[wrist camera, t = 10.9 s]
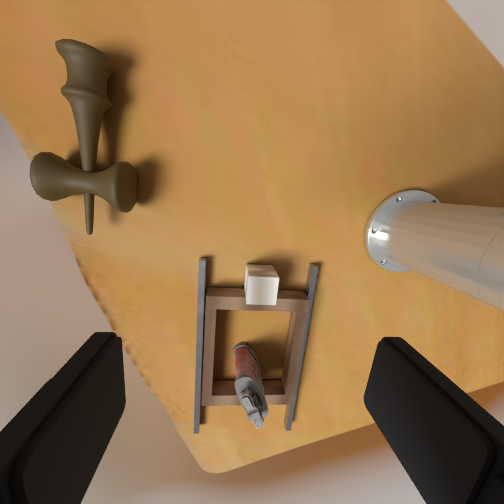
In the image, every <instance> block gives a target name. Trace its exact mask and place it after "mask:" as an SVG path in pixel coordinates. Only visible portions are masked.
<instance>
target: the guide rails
mask: <svg viewBox="0 0 504 504" xmlns="http://www.w3.org/2000/svg"><path fill="white" fill-rule="evenodd" d="M318 268H319V267H318V266H317V265H316V264H309V270H308V276H307V283H306V289H305V294H306V295H307V297H308V298H309V299H310V302H309V308H308V314H307V320H306V326H305V332H304V338H303V344H302V349H301V355H300V361H299V367H298V373H297V379H296V385H295V391H294V397H293V403H292V404H287V408H286V414H285V420H284V424H285V428H286V430H291V426H292V420H293V414H294V408H295V402H296V397H297V391H298V385H299V379H300V373H301V367H302V362H303V356H304V350H305V344H306V338H307V332H308V327H309V321H310V315H311V309H312V303H313V297H314V292H315V286H316V280H317V274H318ZM205 284H206V258H200V260H199V279H198V312H197V344H196V377H195V409H194V433H199V429H200V411H201V385H202V360H203V335H204V309H205Z"/></svg>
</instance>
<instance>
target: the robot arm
mask: <svg viewBox="0 0 504 504" xmlns="http://www.w3.org/2000/svg"><path fill="white" fill-rule="evenodd" d="M371 230H372V231H371ZM365 246H366V249H367V252H368V254H369V256H370V258H371V259H372V260H373V261H374V262H375V263H376V264H377V265H378V266H380V267H382V268H384V269H386V270H388V271H392V272H407V271H410V270H413V271H415V272H417V273H419V274H422V275H424V276H426V277H428V278H431V279H433V280H435V281H437V282H439V283H442V284H444V285H446V286H448V287H451V288H453V289H455V290H457V291H459V292H462V293H464V294H466V295H468V296H471V297H473V298H475V299H477V300H479V301H482V302H484V303H486V304H489V305H491V306H493V307H495V308H497V309H500V310H502V311H504V208H503V207H489V206H475V205H461V204H447V203H440V201H439V200H438V199H437V198H436V197H434V196H433V195H432V194H430V193H427V192H424V191H420V190H408V191H402V192H398V193H395V194H394V195H392V196H390V197H388V198H387V199H385V200H384V201H383V202H381V204H380V205H379V206H378V207H377V208H376V209H375V210H374V212H373V213H372V215H371V217H370V219H369V221H368V223H367V227H366V231H365ZM125 403H126V398H125V382H124V367H123V352H122V339H121V337H117V335H116V333H114V332H95V333H94V334H93V335H92V336H91V337H90V338H89V339H88V340H87V341H86V342H85V343H84V344H83V345H82V346H81V347H80V349H79V350H78V351H77V352H76V353H75V354H74V355H73V356H72V357H71V358H70V359H69V360H68V362H67V363H66V364H65V365H64V366H63V367H62V368H61V369H60V370H59V371H58V372H57V374H56V375H55V376H54V377H53V378H51V379H50V380H49V381H48V382H46V383H45V385H44V386H43V387H42V388H41V389H40V390H39V391H38V392H37V393H36V394H35V395H34V396H33V398H31V399H30V401H29V402H28V403H27V404H26V405H25V406H24V407H23V408H22V409H21V410H20V411H19V412H18V413H17V414H16V416H15V417H14V418H13V419H12V420H11V421H10V422H9V423H8V424H7V425H6V426H5V427H4V428H3V430H2V431H1V432H0V504H81V502H82V499H83V497H84V495H85V493H86V491H87V489H88V486H89V484H90V482H91V480H92V478H93V476H94V474H95V472H96V469H97V467H98V465H99V463H100V461H101V459H102V457H103V454H104V452H105V450H106V448H107V446H108V444H109V442H110V439H111V437H112V435H113V433H114V431H115V429H116V427H117V424H118V422H119V420H120V418H121V416H122V414H123V411H124V408H125ZM364 403H365V406H366V408H367V410H368V411H369V413H370V415H371V416H372V418H373V419H374V421H375V422H376V424H377V426H378V427H379V429H380V430H381V432H382V434H383V435H384V437H385V438H386V440H387V441H388V443H389V445H390V446H391V448H392V449H393V451H394V453H395V454H396V456H397V458H398V459H399V461H400V462H401V464H402V466H403V467H404V469H405V470H406V472H407V473H408V475H409V477H410V478H411V480H412V481H413V483H414V485H415V486H416V488H417V489H418V491H419V493H420V494H421V496H422V497H423V499H424V501H425V502H426V504H504V426H503V425H502V424H501V423H500V422H499V421H497V420H496V419H495V418H494V417H493V416H491V415H490V414H489V413H488V412H487V411H486V410H485V409H483V408H482V407H481V406H480V405H479V404H478V403H477V402H475V401H474V400H473V399H472V398H471V397H470V396H468V395H467V394H466V393H465V392H464V391H463V390H461V389H460V388H459V387H458V386H457V385H456V384H455V383H453V382H452V381H451V380H450V379H449V378H448V377H446V376H445V375H444V374H443V373H442V372H441V371H440V370H438V369H437V368H436V367H435V366H434V365H433V364H431V363H430V362H429V361H428V360H427V359H426V358H424V357H423V356H422V355H421V354H420V353H419V352H418V351H416V350H415V349H414V348H413V347H412V346H411V345H409V344H408V343H407V342H406V341H405V340H404V339H402V338H400V337H383V338H382V340H381V341H379V342H378V345H377V349H376V353H375V356H374V360H373V364H372V368H371V371H370V375H369V379H368V383H367V387H366V390H365V394H364Z"/></svg>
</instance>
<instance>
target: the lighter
mask: <svg viewBox="0 0 504 504" xmlns="http://www.w3.org/2000/svg"><path fill="white" fill-rule="evenodd" d="M234 356H235V366H236V379H235V389H236V393H237V396H238V398H239V400H240V403H241V404H242V406H243V407H244V409H245V410H246V412H247V415H248V419H249V421H250V422H252V421H253V423H254V425H255V426H256V428H261V427H263V426H264V420H263V418H264V417H266V416H267V414H268V407H267V402H266V398H265V395H264V387H263V383H262V380H261V378H262V373H261V368H260V364H259V362H258V359H257V357H256V355H255V353H254V352H253V350H252V349H251V348H250V346H249V345H248V344H247V343H245V342H240V343H238V344H236V345H235V346H234Z"/></svg>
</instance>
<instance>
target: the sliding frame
mask: <svg viewBox="0 0 504 504" xmlns="http://www.w3.org/2000/svg"><path fill="white" fill-rule="evenodd" d="M278 284H279V276H278V275H277V273H276V271H275V269H274V268H273V266H272V265H254V264H246V272H245V283H244V289H240V288H215V287H208V289H207V294H206V310H205V335H204V360H203V384H202V406H223V405H242V404H241V403H240V400H239V398H238V396H237V393H236V389H235V381H213V368H214V350H215V331H216V313H217V309H223V310H256V311H290V312H291V317H290V323H289V330H288V337H287V344H286V351H285V358H284V364H283V371H282V378H281V380H262V383H263V387H264V395H265V398H266V402H267V405H276V404H292V403H293V397H294V391H295V385H296V379H297V373H298V367H299V361H300V355H301V349H302V344H303V338H304V332H305V326H306V320H307V314H308V308H309V302H310V299H309V298H308V297H307V295H306V294H305V293H304V291H289V290H278Z"/></svg>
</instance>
